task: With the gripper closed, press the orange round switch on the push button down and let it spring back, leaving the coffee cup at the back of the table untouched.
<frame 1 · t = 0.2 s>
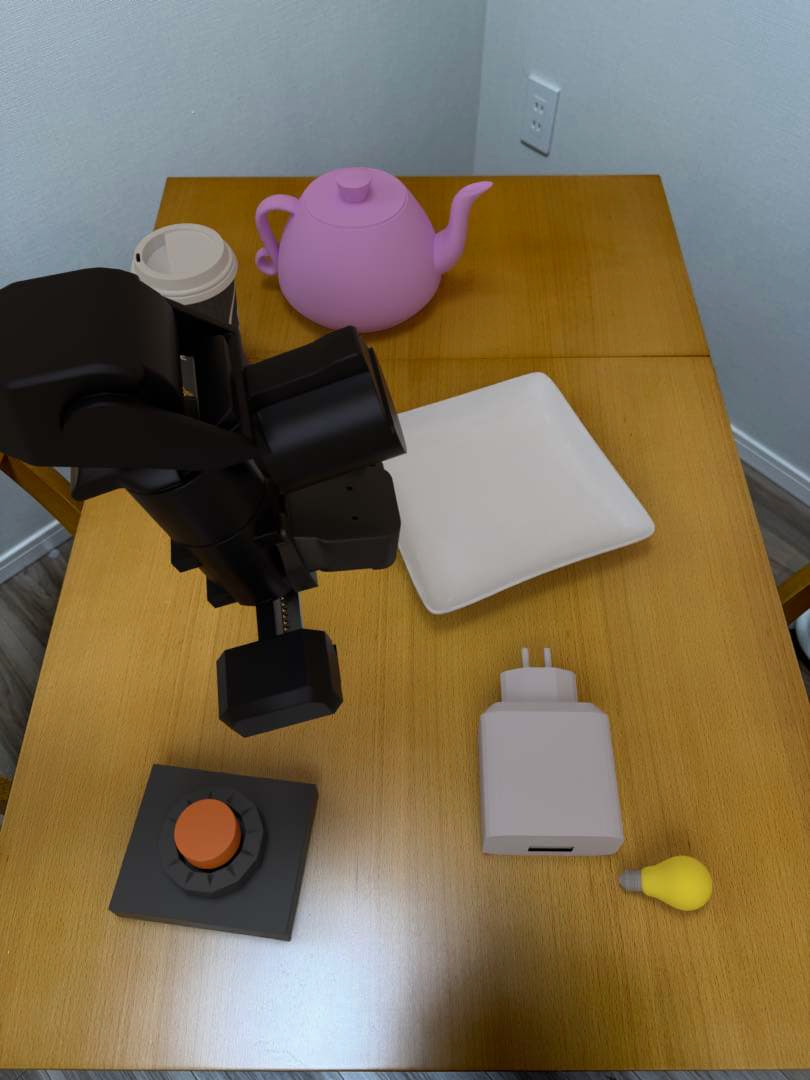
hand: (317, 630, 56), 13 cm above the table, tool pointing down, fingers open, 9 cm apart
light bulb: (659, 887, 59), on the table
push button: (221, 853, 60), on the table
teapot: (371, 290, 95), on the table
charger: (539, 754, 64), on the table
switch: (208, 833, 56), point 5 cm above the table, slide at 0.2 cm
coffee cup: (213, 376, 88), on the table
plate: (490, 502, 78), on the table
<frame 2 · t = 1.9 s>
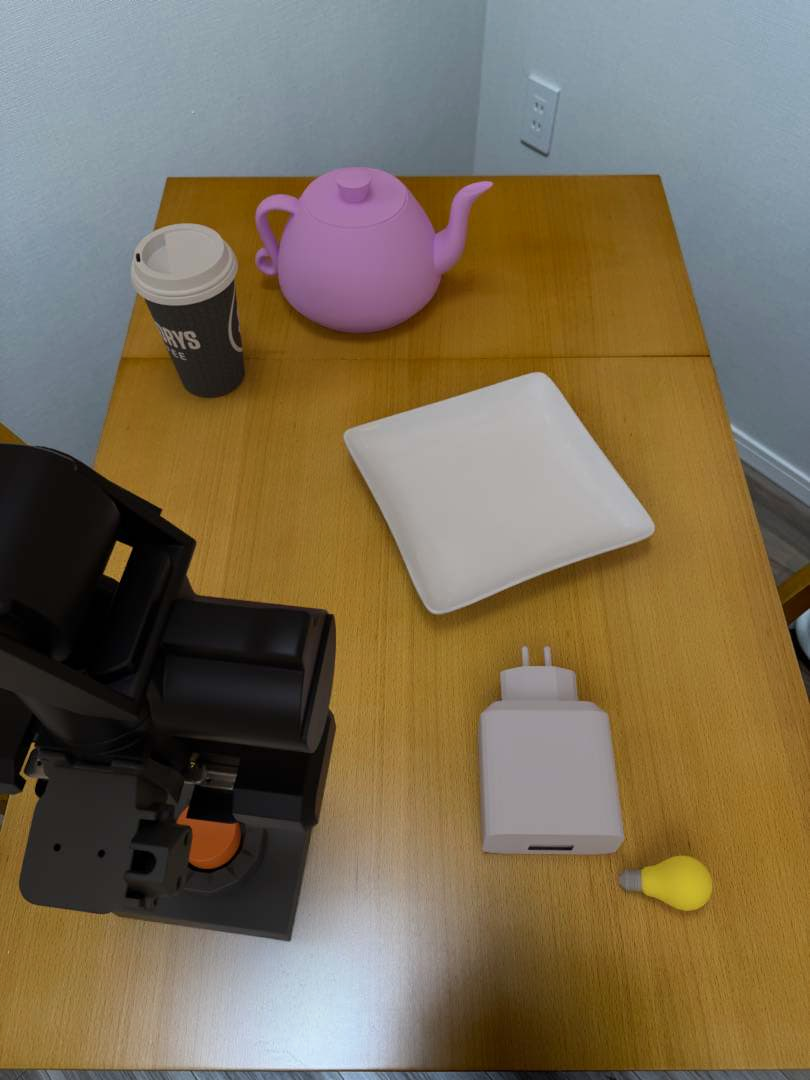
hand: (183, 797, 50), 12 cm above the table, tool pointing down, fingers open, 4 cm apart
nothing on the table moved.
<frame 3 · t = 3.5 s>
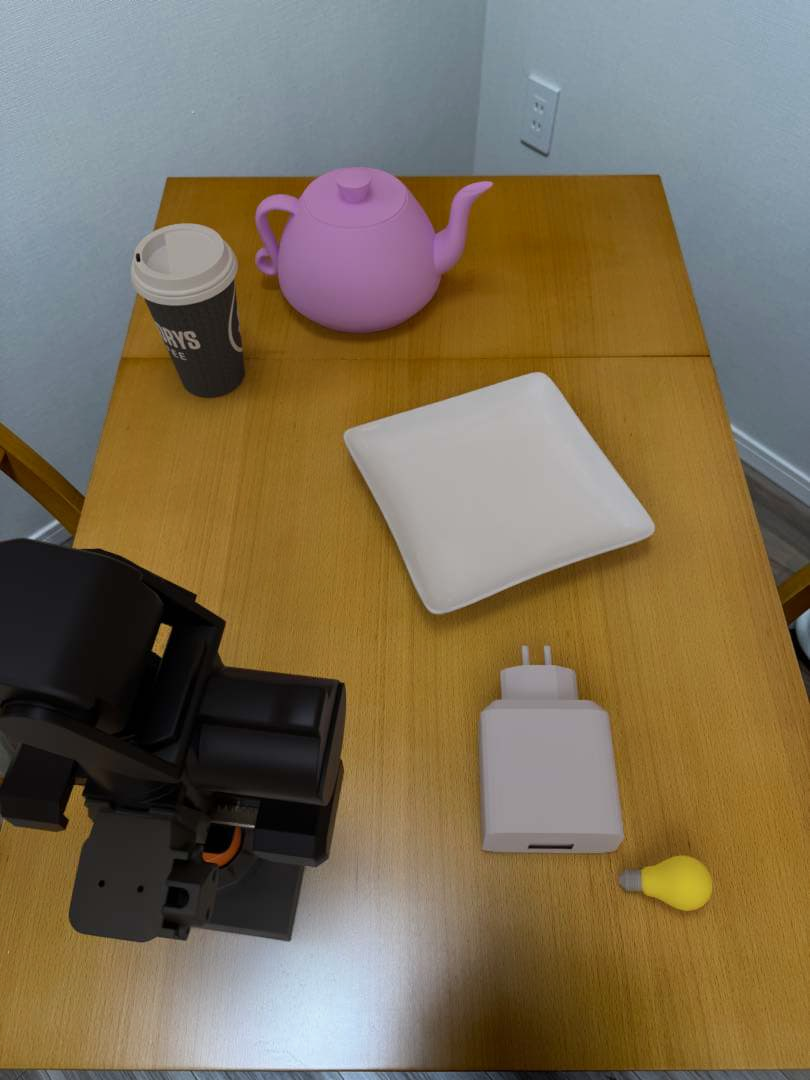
hand: (204, 829, 56), 6 cm above the table, tool pointing down, fingers closed, pressing on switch
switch: (208, 834, 57), point 5 cm above the table, slide at 0.0 cm, touching gripper
everything else where it was.
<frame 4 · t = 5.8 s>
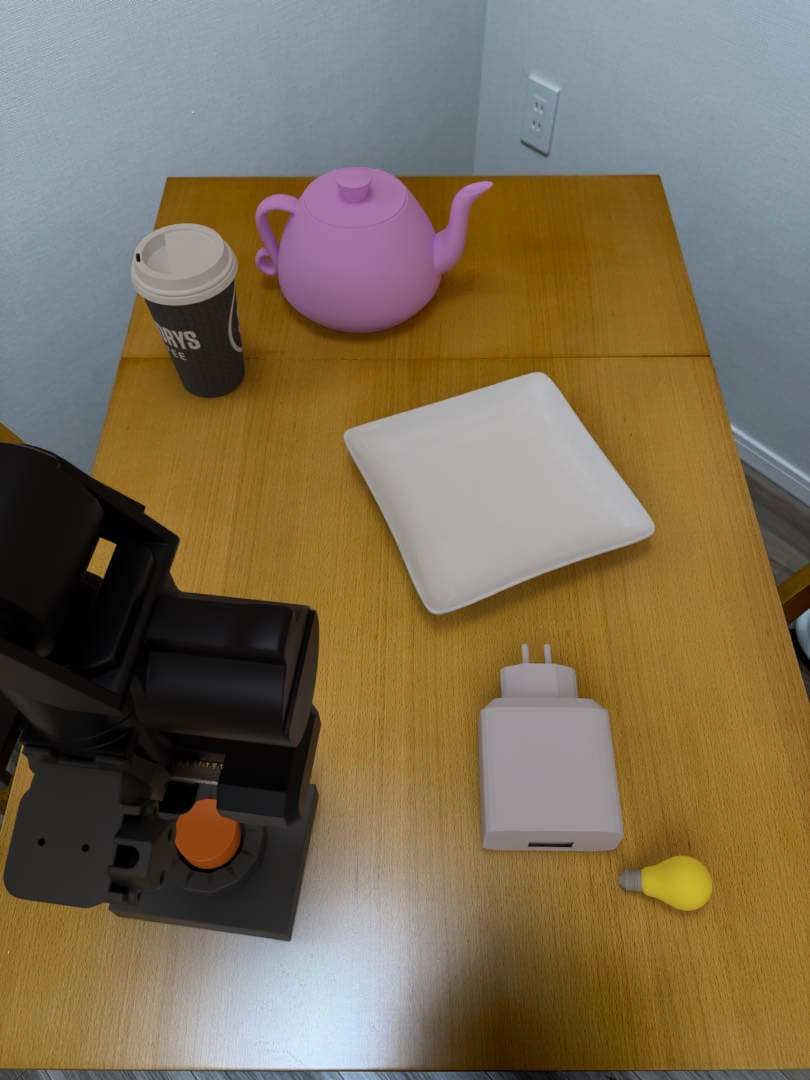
hand: (169, 793, 51), 12 cm above the table, tool pointing down, fingers closed
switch: (208, 833, 56), point 5 cm above the table, slide at 0.2 cm
everything else where it was.
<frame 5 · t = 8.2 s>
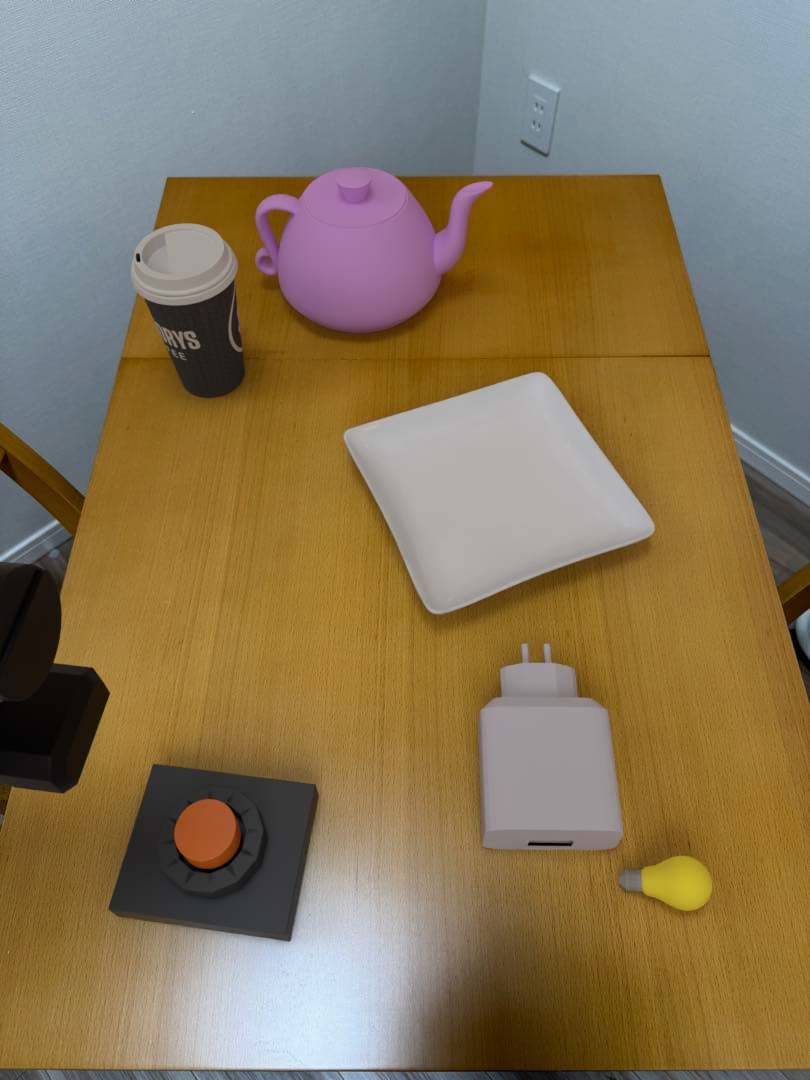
nothing on the table moved.
at the end: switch pushed in 1.1 cm at the most during the clip, back to 0.2 cm at the end; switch slide at 0.2 cm; coffee cup moved 0.2 cm from its start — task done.
